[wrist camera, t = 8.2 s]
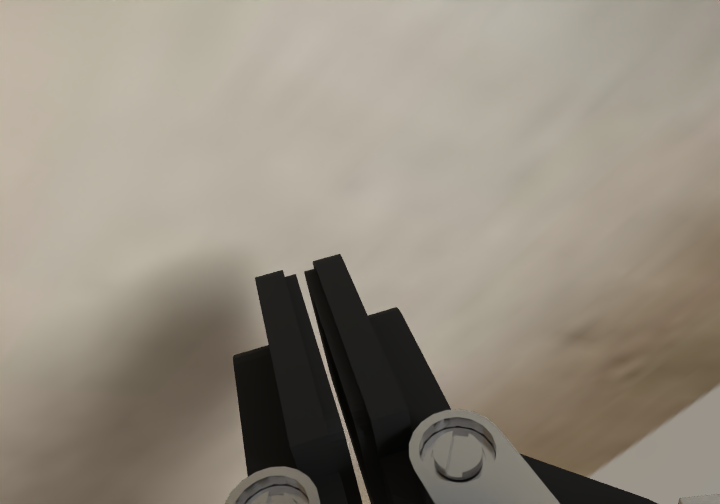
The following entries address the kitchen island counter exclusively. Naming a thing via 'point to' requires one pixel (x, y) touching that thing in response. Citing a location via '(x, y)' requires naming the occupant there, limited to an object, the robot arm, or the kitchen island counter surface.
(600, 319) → the kitchen island counter surface
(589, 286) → the kitchen island counter surface
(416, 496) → the robot arm
